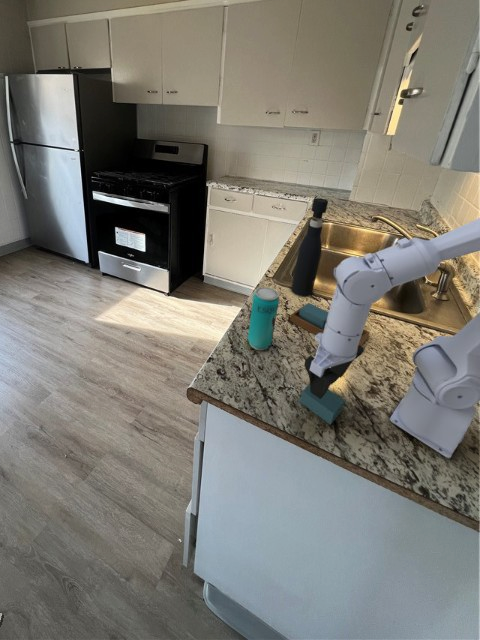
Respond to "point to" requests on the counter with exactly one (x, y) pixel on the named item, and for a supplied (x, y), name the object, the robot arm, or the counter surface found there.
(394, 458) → the counter surface
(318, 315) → the mounted pad
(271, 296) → the beverage can
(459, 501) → the counter surface
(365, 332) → the back plate
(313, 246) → the black water bottle
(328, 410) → the loose pad
